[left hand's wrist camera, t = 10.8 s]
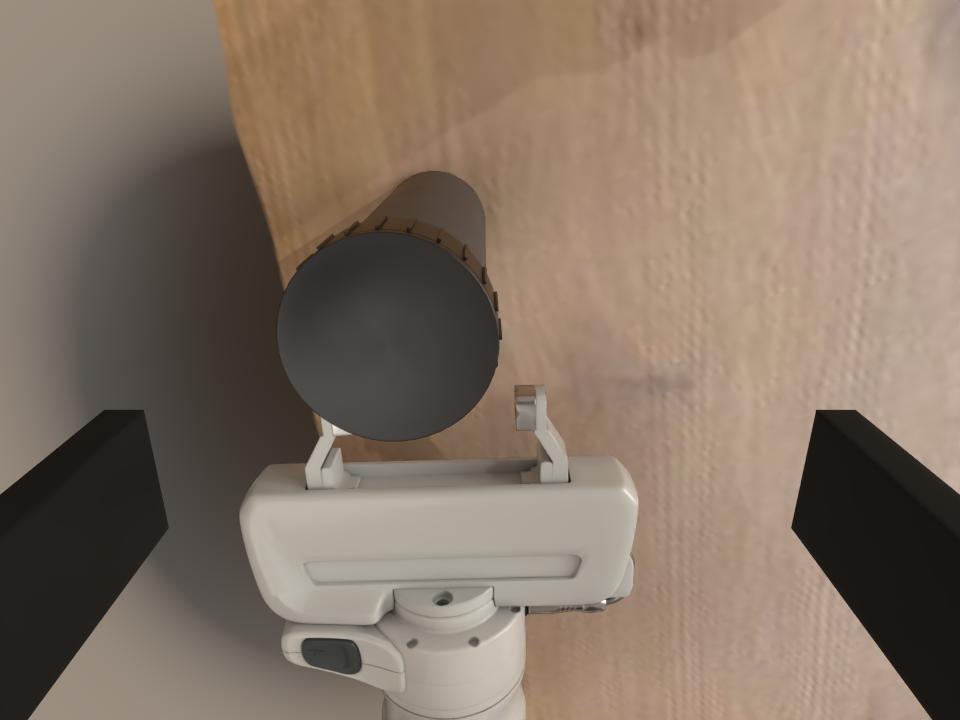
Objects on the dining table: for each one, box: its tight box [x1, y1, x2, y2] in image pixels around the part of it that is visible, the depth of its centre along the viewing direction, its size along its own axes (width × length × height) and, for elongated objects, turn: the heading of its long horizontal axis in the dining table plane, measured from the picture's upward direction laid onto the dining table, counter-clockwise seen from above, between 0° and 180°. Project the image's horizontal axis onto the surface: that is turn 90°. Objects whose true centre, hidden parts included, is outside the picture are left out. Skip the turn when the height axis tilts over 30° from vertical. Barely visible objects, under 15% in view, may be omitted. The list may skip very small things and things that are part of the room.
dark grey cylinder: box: [364, 171, 486, 267], centre depth 26 cm, size 5×5×18 cm
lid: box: [276, 215, 502, 441], centre depth 18 cm, size 6×6×2 cm
